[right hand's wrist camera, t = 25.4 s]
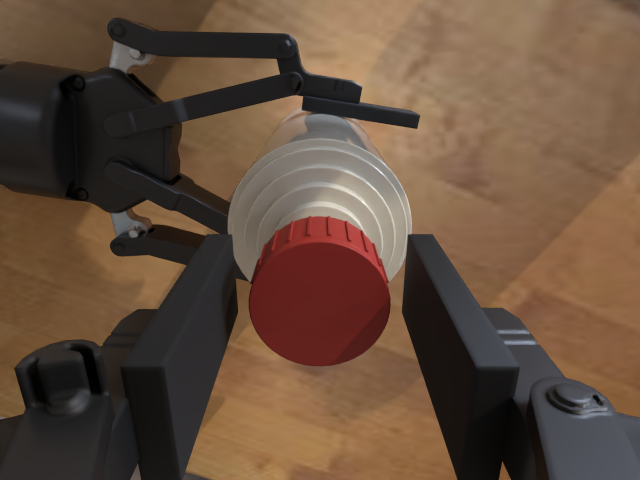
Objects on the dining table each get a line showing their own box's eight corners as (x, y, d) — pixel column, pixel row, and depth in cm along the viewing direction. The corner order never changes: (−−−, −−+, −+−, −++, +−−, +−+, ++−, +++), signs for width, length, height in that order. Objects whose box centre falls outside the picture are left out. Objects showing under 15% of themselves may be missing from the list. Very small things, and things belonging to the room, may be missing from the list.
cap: (395, 310, 15) (406, 349, 13) (279, 340, 15) (273, 381, 13) (365, 198, 13) (372, 221, 11) (238, 234, 14) (224, 263, 12)
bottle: (390, 156, 33) (498, 298, 13) (318, 221, 35) (316, 434, 15) (321, 80, 31) (324, 108, 11) (249, 153, 33) (139, 291, 13)
